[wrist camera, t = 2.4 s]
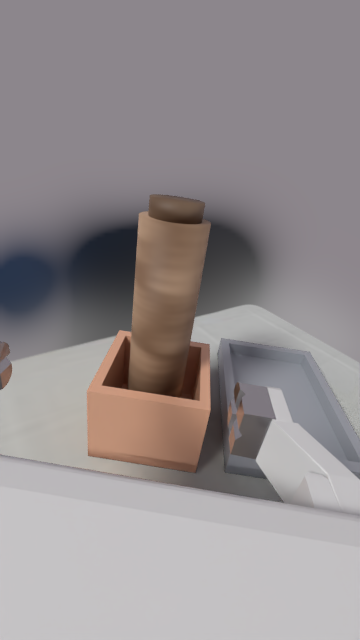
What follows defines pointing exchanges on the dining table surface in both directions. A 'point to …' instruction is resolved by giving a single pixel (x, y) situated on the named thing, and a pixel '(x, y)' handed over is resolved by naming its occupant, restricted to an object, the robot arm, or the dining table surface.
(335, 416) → the tray
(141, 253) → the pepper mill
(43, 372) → the dining table surface
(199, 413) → the orange open box
